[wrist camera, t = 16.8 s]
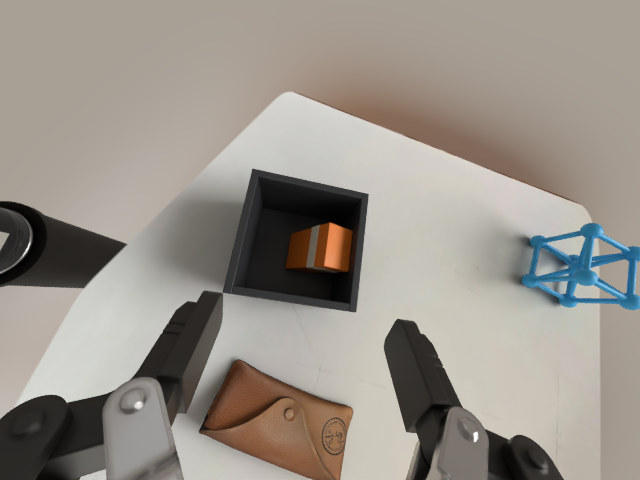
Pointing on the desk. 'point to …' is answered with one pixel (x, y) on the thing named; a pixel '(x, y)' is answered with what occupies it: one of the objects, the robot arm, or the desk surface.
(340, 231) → the block
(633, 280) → the molecular structure
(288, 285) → the dark grey storage bin
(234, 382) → the sunglasses case
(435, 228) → the desk surface
